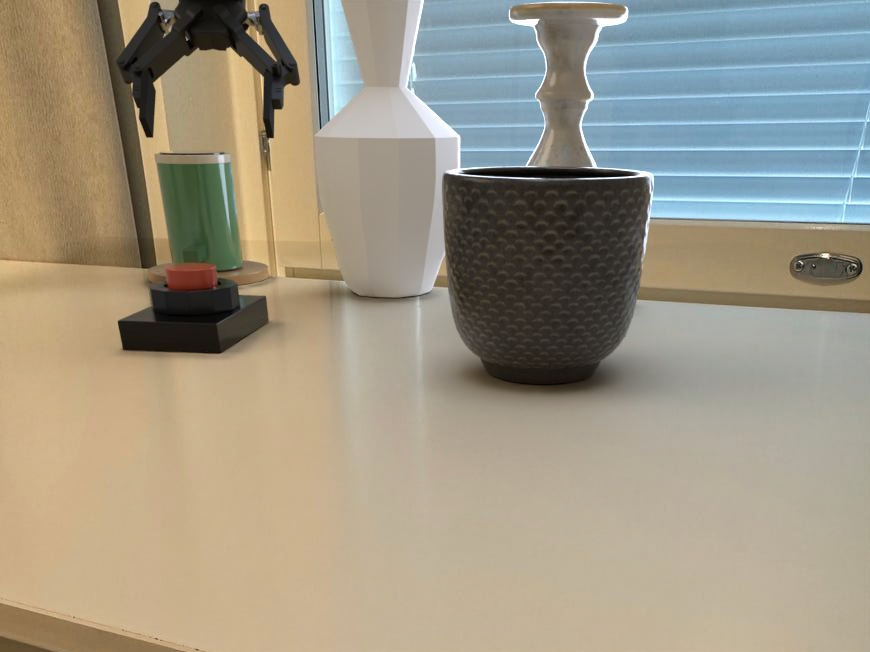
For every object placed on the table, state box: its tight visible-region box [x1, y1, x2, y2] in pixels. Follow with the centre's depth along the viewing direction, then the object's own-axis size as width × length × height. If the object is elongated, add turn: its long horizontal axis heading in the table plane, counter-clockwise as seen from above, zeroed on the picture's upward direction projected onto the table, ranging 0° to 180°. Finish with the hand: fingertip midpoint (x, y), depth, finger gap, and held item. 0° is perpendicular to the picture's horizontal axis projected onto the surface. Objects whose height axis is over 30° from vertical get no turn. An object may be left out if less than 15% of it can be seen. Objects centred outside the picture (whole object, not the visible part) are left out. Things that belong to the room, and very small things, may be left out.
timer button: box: [165, 263, 218, 289], centre depth 72 cm, size 4×4×2 cm
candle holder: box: [508, 1, 629, 168], centre depth 82 cm, size 11×11×24 cm
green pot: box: [154, 150, 244, 271], centre depth 94 cm, size 12×8×11 cm
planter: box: [442, 165, 655, 385], centre depth 61 cm, size 14×14×13 cm
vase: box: [313, 0, 461, 298], centre depth 86 cm, size 14×14×25 cm
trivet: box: [147, 259, 270, 286], centre depth 99 cm, size 13×13×1 cm
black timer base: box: [117, 278, 270, 354], centre depth 73 cm, size 8×12×4 cm, turn 173°
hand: (207, 128), depth 100 cm, fingers open, 13 cm apart
